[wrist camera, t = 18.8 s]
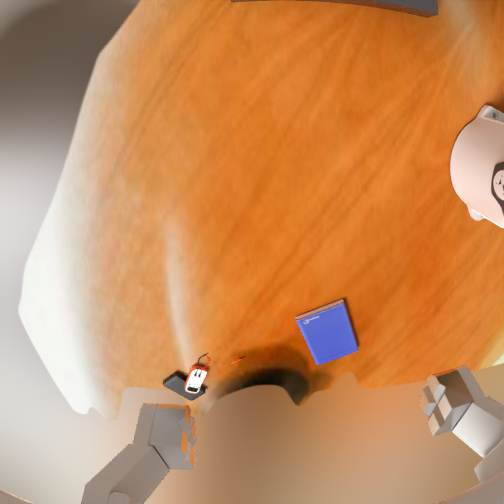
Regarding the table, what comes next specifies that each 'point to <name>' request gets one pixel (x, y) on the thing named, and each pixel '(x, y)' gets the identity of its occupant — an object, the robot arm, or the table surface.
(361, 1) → the dark grey flat frame
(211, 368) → the table surface
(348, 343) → the hard drive
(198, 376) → the multimeter
